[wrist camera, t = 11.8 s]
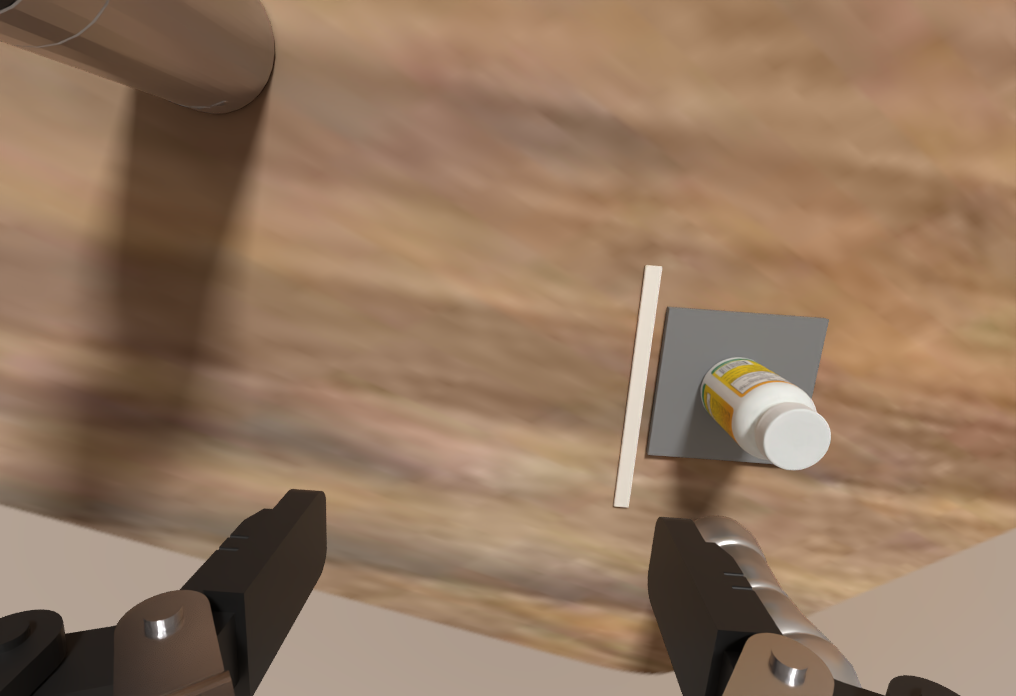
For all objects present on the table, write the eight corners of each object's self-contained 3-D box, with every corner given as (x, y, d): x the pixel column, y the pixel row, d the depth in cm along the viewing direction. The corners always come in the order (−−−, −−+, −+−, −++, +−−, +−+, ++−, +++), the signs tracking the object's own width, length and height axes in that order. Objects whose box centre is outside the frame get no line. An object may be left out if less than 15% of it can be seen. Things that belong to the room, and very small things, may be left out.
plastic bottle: (652, 531, 44) (760, 778, 24) (723, 490, 43) (894, 714, 23) (691, 585, 45) (823, 862, 25) (760, 547, 44) (953, 804, 24)
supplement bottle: (721, 344, 39) (785, 382, 30) (781, 374, 40) (862, 421, 30) (685, 403, 40) (735, 458, 31) (743, 432, 41) (810, 494, 31)
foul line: (645, 265, 38) (646, 265, 38) (661, 266, 38) (662, 266, 38) (613, 504, 43) (614, 506, 43) (627, 505, 43) (628, 507, 43)
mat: (667, 306, 39) (669, 307, 39) (824, 318, 39) (829, 319, 39) (646, 451, 42) (648, 454, 41) (792, 462, 42) (796, 465, 41)
